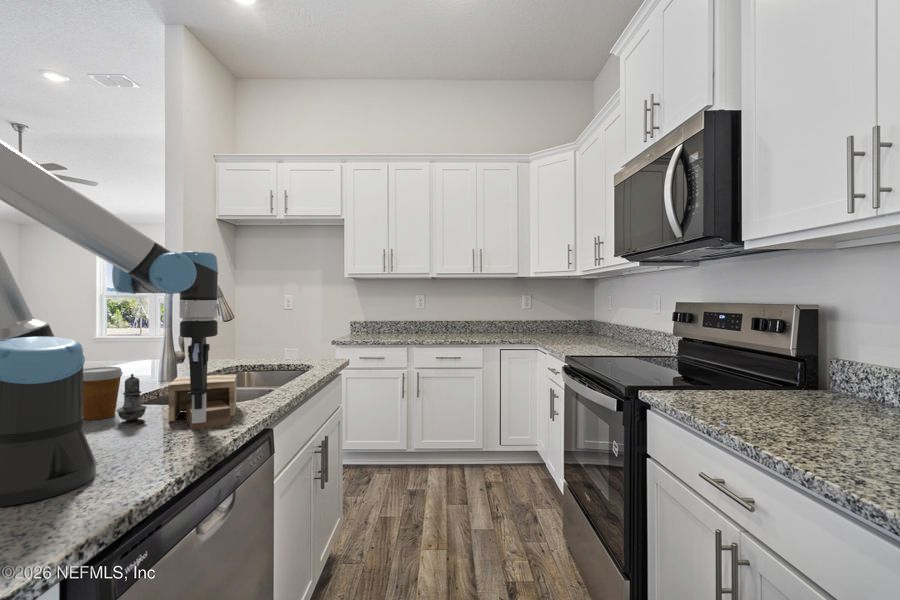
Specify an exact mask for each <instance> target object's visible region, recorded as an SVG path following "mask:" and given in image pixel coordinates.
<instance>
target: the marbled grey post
mask: <svg viewBox="0 0 900 600" xmlns="http://www.w3.org/2000/svg"><path fill="white" fill-rule="evenodd" d="M141 393H142V391H141V390H140V379H139V378H138V377H135V374H134V373H131V374H130V377H128V378H126V379H125V380H124V391H123V393H122V395H123V398H124V399H123V405H122V406H121V407H120V408H118V409H116V412H117V413H118V417H119V418H120V419H121V420H123V421H121V422H120V423H118V425H117V426H118V427H121V426H129V427H135V426H139V425H140V426H141V425H142V424H145V423H146V420H144V419H142V418H143V416H144V415H145V412H146V409H147V408H148V407H147V406H146V405H143V404H142V403H141V399H140V398H141ZM144 422H145V423H144Z"/></svg>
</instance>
